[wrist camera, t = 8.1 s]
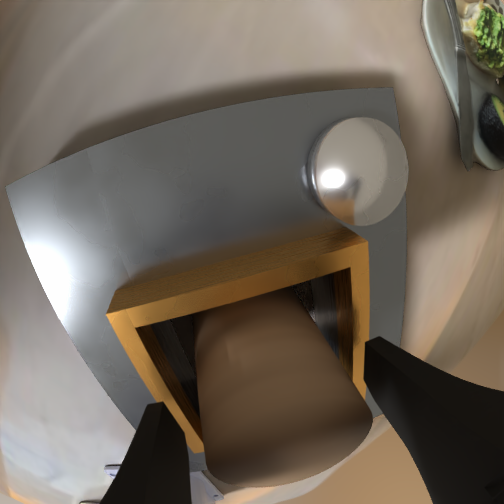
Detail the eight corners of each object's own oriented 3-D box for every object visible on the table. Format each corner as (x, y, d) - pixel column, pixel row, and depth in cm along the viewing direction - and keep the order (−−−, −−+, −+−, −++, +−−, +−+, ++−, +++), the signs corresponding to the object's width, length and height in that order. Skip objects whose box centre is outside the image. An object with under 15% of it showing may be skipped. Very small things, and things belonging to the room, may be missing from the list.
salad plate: (350, -36, 9) (386, -62, 6) (470, -39, 9) (500, -47, 5) (455, 196, 15) (497, 212, 12) (535, 125, 15) (566, 131, 11)
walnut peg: (300, 334, 16) (366, 455, 8) (209, 360, 15) (232, 497, 8) (286, 250, 14) (379, 369, 6) (178, 280, 13) (177, 431, 6)
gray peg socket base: (368, 381, 19) (399, 426, 15) (175, 439, 17) (178, 493, 13) (353, 93, 12) (419, 84, 8) (40, 174, 10) (-19, 196, 6)
